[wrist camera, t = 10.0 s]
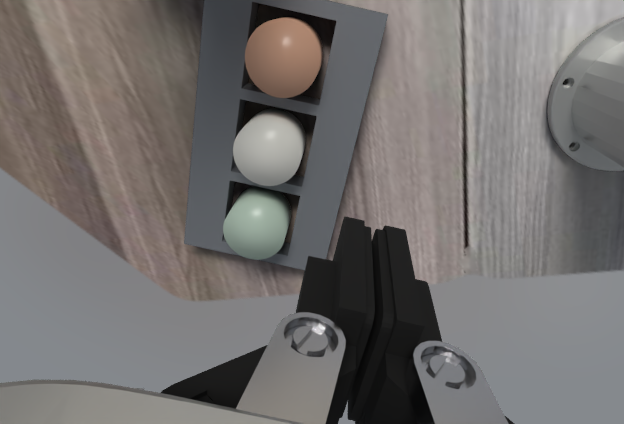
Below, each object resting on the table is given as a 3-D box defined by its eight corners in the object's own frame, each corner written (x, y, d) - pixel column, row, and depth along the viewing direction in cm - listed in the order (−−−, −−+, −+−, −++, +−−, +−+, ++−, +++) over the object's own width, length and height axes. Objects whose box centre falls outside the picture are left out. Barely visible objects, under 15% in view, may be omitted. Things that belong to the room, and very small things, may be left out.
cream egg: (311, 115, 39) (306, 128, 35) (299, 174, 41) (294, 192, 37) (249, 102, 38) (237, 113, 35) (241, 161, 41) (229, 178, 37)
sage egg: (296, 192, 42) (290, 212, 38) (286, 241, 44) (279, 265, 40) (238, 179, 42) (226, 198, 38) (232, 229, 44) (219, 252, 40)
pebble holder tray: (386, 13, 35) (388, 14, 33) (323, 260, 46) (322, 273, 44) (215, -25, 35) (206, -27, 33) (192, 231, 46) (184, 243, 43)
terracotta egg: (330, 25, 35) (326, 28, 31) (316, 94, 38) (311, 105, 34) (262, 9, 35) (250, 10, 31) (252, 80, 38) (240, 89, 34)
